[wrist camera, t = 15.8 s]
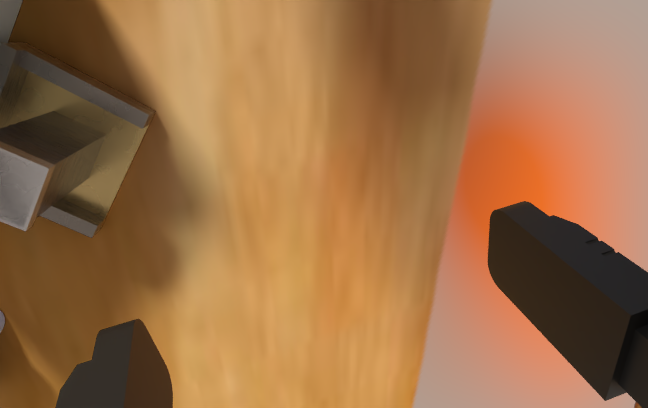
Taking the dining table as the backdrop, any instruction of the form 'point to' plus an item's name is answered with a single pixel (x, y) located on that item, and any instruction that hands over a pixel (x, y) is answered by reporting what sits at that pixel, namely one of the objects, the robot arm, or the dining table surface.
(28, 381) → the dining table surface
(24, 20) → the dining table surface
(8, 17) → the door
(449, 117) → the dining table surface
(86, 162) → the bar
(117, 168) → the keeper
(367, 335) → the dining table surface
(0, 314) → the hippopotamus toy
